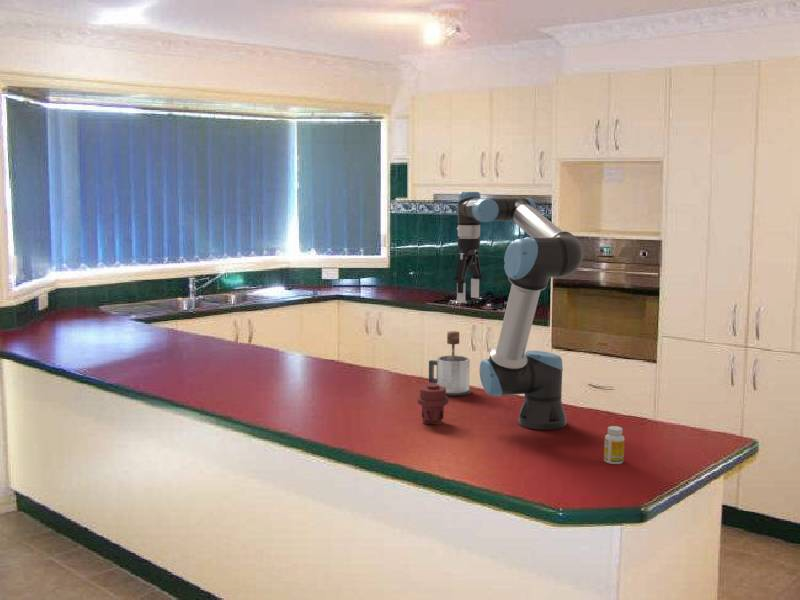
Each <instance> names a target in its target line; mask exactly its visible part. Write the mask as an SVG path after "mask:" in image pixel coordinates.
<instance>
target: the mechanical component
mask: <svg viewBox="0 0 800 600" xmlns="http://www.w3.org/2000/svg"><path fill="white" fill-rule="evenodd" d="M416 401H417V403H418V405H420V406H421V419H422V424H424V425H428V424H429V425H442V420H443V419H444V418H445V415H444V414H445V408H444V407H445V406H447V405H448V404H449V403H450V402H449V396H446V388H445V387H442V386H439V385H438V384H437V383H428V384H427V385H423V386H421V387H420V388H419V396H417V399H416Z"/></svg>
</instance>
